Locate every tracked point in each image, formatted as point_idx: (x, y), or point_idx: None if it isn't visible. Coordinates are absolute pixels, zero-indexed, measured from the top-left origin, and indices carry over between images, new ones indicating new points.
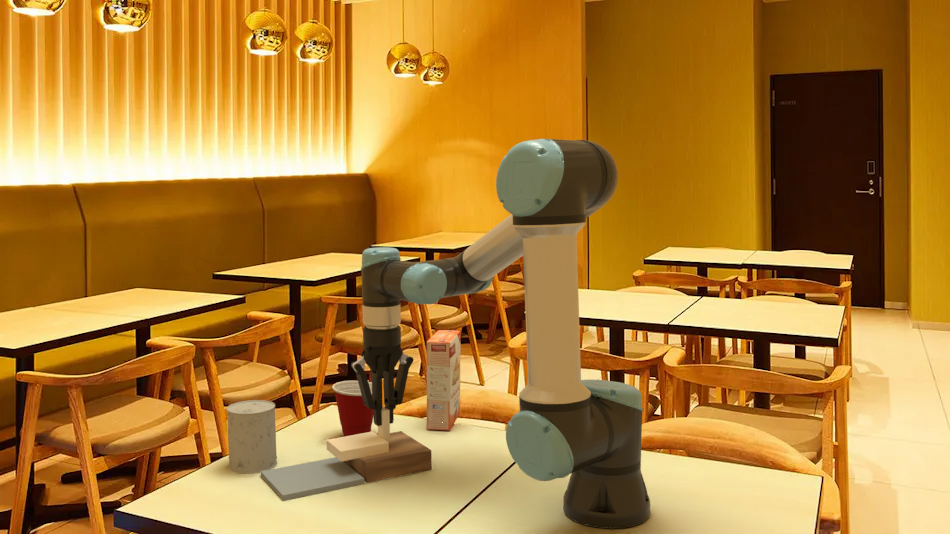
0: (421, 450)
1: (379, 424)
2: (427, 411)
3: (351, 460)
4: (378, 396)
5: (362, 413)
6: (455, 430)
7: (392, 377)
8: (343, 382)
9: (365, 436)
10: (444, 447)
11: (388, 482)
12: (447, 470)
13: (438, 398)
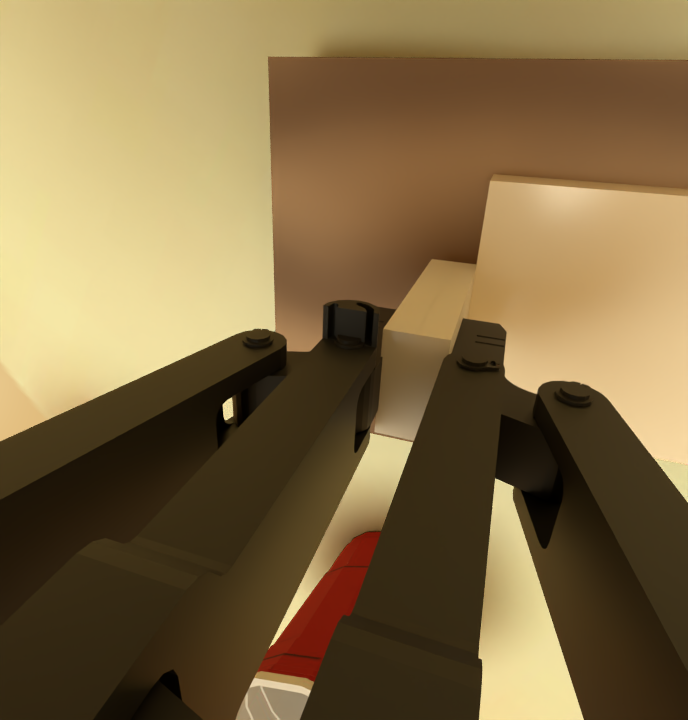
0: (318, 84)
1: (479, 324)
2: None
3: None
4: (476, 429)
5: None
6: (81, 400)
7: (168, 532)
8: None
9: (539, 375)
10: (164, 285)
11: (601, 9)
12: (254, 6)
13: None
